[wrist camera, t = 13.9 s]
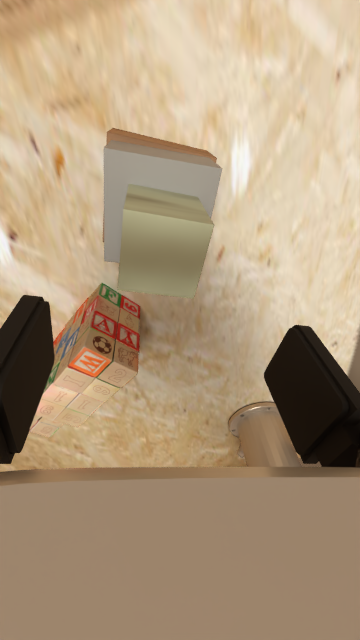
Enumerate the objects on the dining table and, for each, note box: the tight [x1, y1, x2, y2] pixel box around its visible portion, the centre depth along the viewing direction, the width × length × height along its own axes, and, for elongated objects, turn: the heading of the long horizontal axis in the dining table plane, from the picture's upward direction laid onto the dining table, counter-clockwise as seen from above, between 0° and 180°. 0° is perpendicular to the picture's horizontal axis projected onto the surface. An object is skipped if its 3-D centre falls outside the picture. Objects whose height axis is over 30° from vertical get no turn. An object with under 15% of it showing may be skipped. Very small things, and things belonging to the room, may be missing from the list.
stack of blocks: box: [29, 283, 140, 437], centre depth 35 cm, size 21×6×12 cm, turn 138°
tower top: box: [104, 140, 222, 263], centre depth 22 cm, size 8×8×5 cm
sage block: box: [118, 184, 214, 299], centre depth 18 cm, size 5×5×6 cm
